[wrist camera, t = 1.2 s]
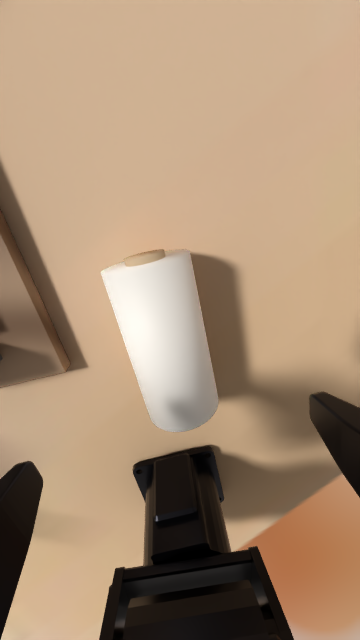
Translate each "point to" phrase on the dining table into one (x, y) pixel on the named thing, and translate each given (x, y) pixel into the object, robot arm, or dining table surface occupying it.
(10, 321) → the cradle
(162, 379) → the roll
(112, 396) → the dining table surface
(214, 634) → the robot arm
